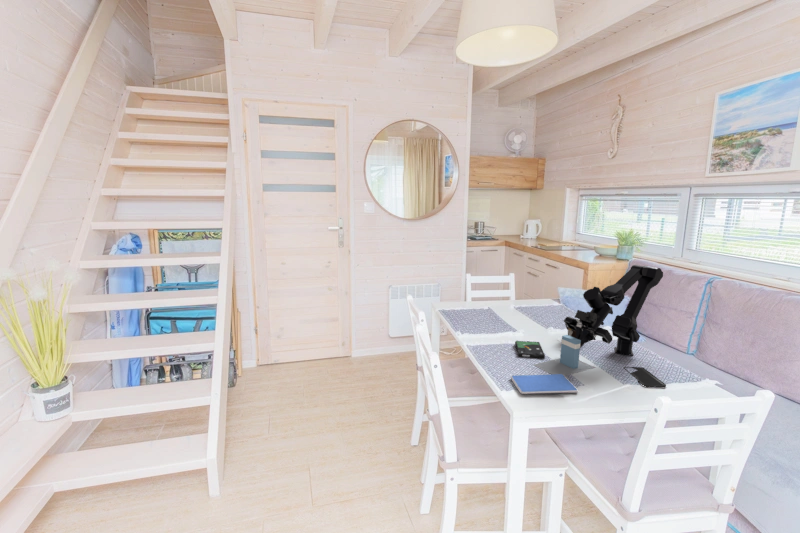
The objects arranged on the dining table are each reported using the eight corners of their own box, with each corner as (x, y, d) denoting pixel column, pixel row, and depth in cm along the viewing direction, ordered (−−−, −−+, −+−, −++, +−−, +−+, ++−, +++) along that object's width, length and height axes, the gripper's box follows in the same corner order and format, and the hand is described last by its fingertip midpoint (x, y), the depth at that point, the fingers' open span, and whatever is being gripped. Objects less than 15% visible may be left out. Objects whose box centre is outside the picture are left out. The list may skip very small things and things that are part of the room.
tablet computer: (562, 376, 142) (563, 373, 142) (579, 393, 130) (579, 390, 129) (509, 378, 142) (509, 375, 141) (521, 396, 129) (521, 392, 129)
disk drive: (545, 361, 158) (538, 347, 172) (545, 355, 157) (539, 341, 172) (518, 359, 159) (514, 345, 174) (518, 353, 159) (514, 339, 173)
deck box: (564, 361, 155) (566, 334, 153) (578, 367, 150) (580, 340, 148) (559, 362, 154) (562, 335, 152) (573, 368, 149) (575, 341, 147)
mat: (569, 357, 161) (569, 355, 161) (595, 368, 150) (595, 367, 150) (533, 366, 152) (533, 364, 152) (557, 379, 141) (557, 377, 141)
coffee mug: (588, 347, 171) (590, 325, 169) (567, 345, 173) (569, 324, 171) (582, 338, 182) (584, 317, 181) (562, 336, 184) (564, 316, 182)
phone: (642, 367, 150) (667, 385, 136) (642, 369, 151) (667, 388, 136) (621, 366, 151) (644, 385, 136) (621, 369, 151) (644, 388, 136)
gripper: (569, 297, 159) (546, 326, 157) (610, 309, 143) (586, 342, 140) (580, 313, 164) (559, 342, 161) (622, 327, 148) (599, 359, 145)
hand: (574, 346), depth 152 cm, fingers closed
